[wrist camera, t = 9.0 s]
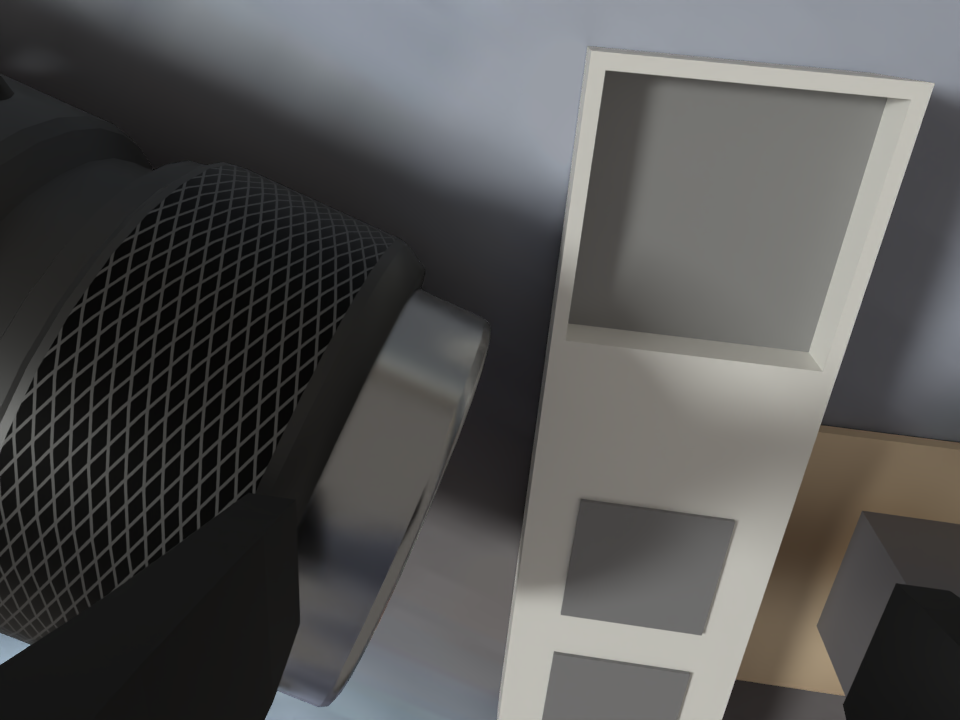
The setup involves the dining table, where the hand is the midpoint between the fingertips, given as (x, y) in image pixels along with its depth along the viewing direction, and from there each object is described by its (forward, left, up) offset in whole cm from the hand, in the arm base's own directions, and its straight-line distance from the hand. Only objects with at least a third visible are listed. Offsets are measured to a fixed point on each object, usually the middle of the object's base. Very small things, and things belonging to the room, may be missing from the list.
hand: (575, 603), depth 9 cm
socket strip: (-4, -3, -10) cm, 11 cm away
